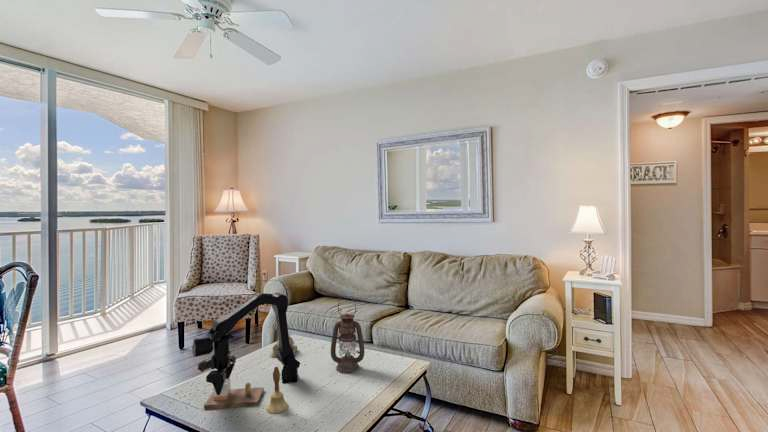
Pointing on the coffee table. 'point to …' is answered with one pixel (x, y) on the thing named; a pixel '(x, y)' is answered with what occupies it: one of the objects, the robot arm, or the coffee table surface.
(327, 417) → the coffee table surface
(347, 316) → the lantern
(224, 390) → the sleeve
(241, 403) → the pin board
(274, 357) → the ceramic model
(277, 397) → the hand bell
